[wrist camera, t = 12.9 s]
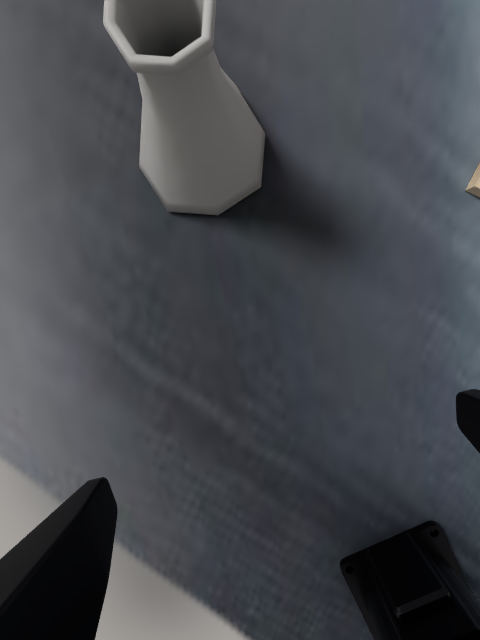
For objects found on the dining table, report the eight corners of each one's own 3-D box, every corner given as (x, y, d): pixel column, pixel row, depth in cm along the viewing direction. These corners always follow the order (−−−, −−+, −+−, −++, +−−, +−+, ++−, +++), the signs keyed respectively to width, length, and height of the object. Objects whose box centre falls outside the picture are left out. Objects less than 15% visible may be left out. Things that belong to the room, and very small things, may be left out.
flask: (280, 200, 20) (317, 106, 10) (157, 232, 20) (69, 172, 10) (249, 70, 19) (256, -175, 9) (123, 104, 19) (-7, -98, 9)
